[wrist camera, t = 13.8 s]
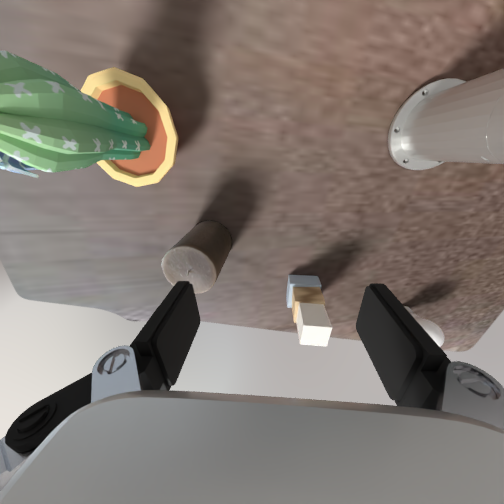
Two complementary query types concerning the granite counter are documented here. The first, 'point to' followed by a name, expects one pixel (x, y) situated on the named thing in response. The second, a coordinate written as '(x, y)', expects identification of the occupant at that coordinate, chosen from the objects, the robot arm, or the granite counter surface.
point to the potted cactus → (83, 123)
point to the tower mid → (305, 297)
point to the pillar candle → (198, 256)
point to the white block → (313, 324)
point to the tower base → (300, 284)
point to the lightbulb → (429, 328)
